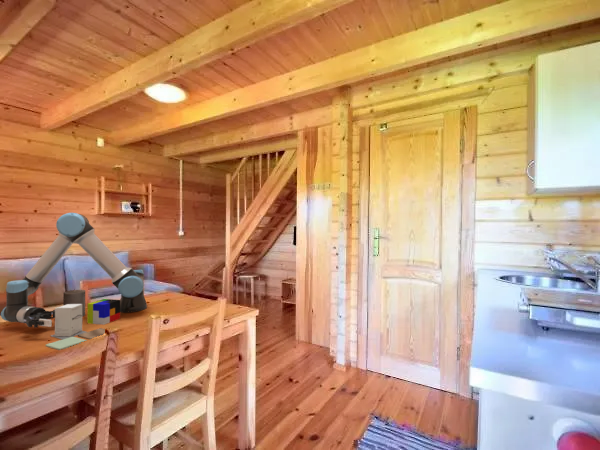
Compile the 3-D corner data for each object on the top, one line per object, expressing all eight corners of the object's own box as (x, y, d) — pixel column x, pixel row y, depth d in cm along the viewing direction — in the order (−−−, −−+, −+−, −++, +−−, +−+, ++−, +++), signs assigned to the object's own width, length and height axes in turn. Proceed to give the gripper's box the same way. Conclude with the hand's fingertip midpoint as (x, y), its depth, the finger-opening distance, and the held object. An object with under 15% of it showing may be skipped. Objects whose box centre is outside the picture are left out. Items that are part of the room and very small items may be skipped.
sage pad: (72, 337, 132) (72, 336, 132) (86, 341, 128) (86, 340, 128) (45, 346, 123) (45, 344, 123) (59, 350, 119) (59, 348, 119)
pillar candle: (58, 318, 161) (59, 290, 161) (78, 313, 170) (78, 286, 170) (70, 320, 157) (70, 291, 157) (89, 315, 166) (89, 288, 166)
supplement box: (71, 336, 133) (71, 307, 133) (54, 336, 133) (54, 307, 133) (82, 330, 140) (83, 303, 140) (66, 330, 140) (67, 303, 140)
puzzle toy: (104, 324, 150) (104, 304, 150) (87, 323, 152) (87, 303, 152) (120, 318, 160) (120, 299, 160) (104, 317, 162) (104, 299, 162)
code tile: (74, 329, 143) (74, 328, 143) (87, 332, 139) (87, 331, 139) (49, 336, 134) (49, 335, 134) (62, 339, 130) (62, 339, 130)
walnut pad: (100, 329, 143) (100, 328, 143) (114, 332, 139) (114, 331, 139) (77, 336, 134) (77, 335, 134) (91, 339, 130) (91, 338, 130)
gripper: (59, 315, 154) (92, 318, 148) (-1, 332, 130) (36, 336, 124) (59, 300, 154) (92, 303, 148) (-1, 314, 130) (36, 318, 124)
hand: (66, 318), depth 136 cm, fingers open, 13 cm apart
